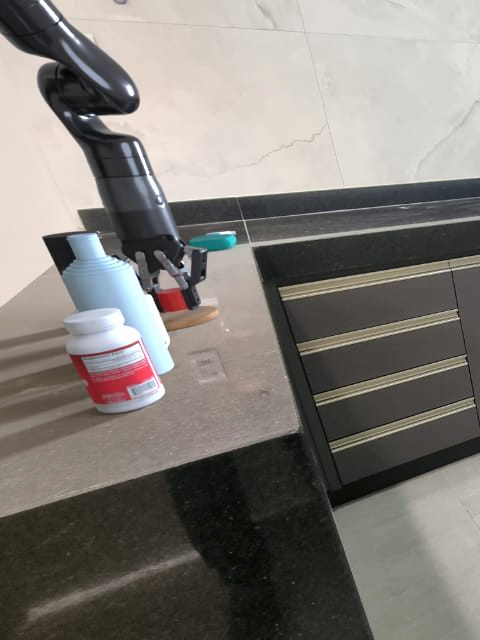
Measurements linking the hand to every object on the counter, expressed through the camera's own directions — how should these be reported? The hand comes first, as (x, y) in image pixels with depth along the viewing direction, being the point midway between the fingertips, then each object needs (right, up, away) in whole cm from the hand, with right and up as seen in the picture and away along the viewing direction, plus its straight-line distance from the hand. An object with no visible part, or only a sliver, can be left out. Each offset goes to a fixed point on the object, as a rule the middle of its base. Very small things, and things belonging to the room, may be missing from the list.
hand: (179, 309), depth 90 cm
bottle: (+12, -10, -19) cm, 25 cm away
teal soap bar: (-47, +26, +66) cm, 85 cm away
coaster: (0, -2, +1) cm, 2 cm away
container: (+5, -8, -13) cm, 16 cm away
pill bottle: (+18, -14, -27) cm, 35 cm away
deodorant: (-14, -2, +2) cm, 14 cm away
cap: (0, 0, 0) cm, 0 cm away
